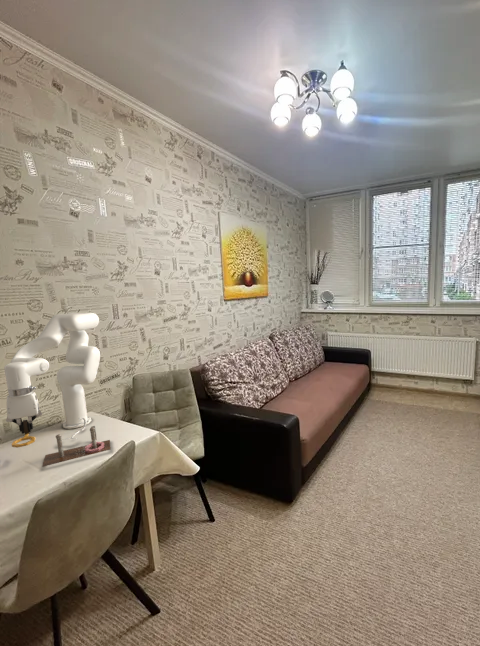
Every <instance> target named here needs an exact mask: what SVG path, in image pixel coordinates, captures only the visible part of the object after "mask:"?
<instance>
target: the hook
mask: <svg viewBox="0 0 480 646" xmlns="http://www.w3.org/2000/svg"><path fill="white" fill-rule="evenodd" d="M80 419H83V420H84V426H82V429H81V431H85V429H86V426H87V425H86V419H85V418H84V417H81V418H80ZM80 419H79V420H80ZM79 432H80V430H78V431H76V432H74V433H73V435H71V436H70V437H67V438H66V440H70V439H72V440H74V439H75V440H78V439H79V438H77V437H75V436H76V435H78V433H79ZM64 440H65V438H63V439H62V441H64Z"/></svg>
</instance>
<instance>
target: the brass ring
mask: <svg viewBox="0 0 480 646" xmlns="http://www.w3.org/2000/svg"><path fill="white" fill-rule="evenodd" d="M22 422H23V427H24V436H23V437H20V438H17V439H15V440H13V441H12V442H11V447H12V448H23V447H26V446H29V445H31V444H33V443H35V442H36V439H37V438H36V436H31V435H30V433H31V432H28V427H27V424H28V418H27V419H22ZM23 441H26V442H23ZM21 442H22V443H21Z"/></svg>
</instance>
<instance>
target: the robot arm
mask: <svg viewBox="0 0 480 646" xmlns="http://www.w3.org/2000/svg"><path fill="white" fill-rule="evenodd" d="M99 324H100V317H99V316H98V315H97V313H95V312H90V311H89V312H80V311H79V312H76V311H75V312H68V313H56V314H54V315H52V317H51V318H50V319H49V321H48V322H47V324H46V325H45V326H44V328H43V330H42V331H41V332H40V334H39V335H38V336H37V337H35V338H34V339H32V340H30V341H28V342H27V343H26V344H24V345H22V346H21V347H20V348H19V349H18V350H17V351H16V353H15V354H14V355H13V357H12V358H11V360H10V362H9V363H7V364H5V365H4V375H5V381H6V386H7V393H8V395H7V396H6V415H7V417H6V419H5V422H7V423H13V424H16V425H17V426H18V430H19V432H21V434H22V435H23V434H24V435H25V433H24V427H23V418H27V419H28V424H27V427H28V432H30V433H31V432H32V430H33V429H34V424H33V422H34V421H35V420H36V419H37V418H39V417H41V416H42V415H43V413H42V411H41V410H40V404H39V400H38V396H37V394H36V392H35V391H36V390H37V386H33V384H32V382H31V377H35V376H40V375H43V374H45V373H46V372H48V371H49V369H50V363H49V361H48V360H47V359H45V358H43V357H35V356H36V355H39V354H41V353H43V352H45V351H49V350H52V349H54V348H56V347H58V346H59V345H60V344H61V342H62V341H63V339H64V337H65V336H66V334H67V333H69V341H68V345H67V349H66V352H65V360H66V362H67V363H68V364H73V365H66V366H65V365H64V366H62V367H60V368H59V369H58V371H57V373H56V380H57V382H58V385H59V388H60V392H61V397H62V403H63V410H64V417H65V421H64V422H63V423H62V428H63V429H67V430H68V429H69V430H72V429H78V428H83V427H84V420H83V419H80V418H81V417H84V418H85V419H86V426H87V425H88V424H90V423H91V422H92V417H90V416H88V411H87V402H86V395H85V389H84V387H83V385H91V384H93V383H94V382H95V380H96V378H97V375H98V371H99V367H100V361H101V352H100V349H99V347H96V346H94V345H89V341H90V336H89V334H88V332H87V330H92V329H95V328H97V327H98V325H99ZM79 419H80V420H79Z"/></svg>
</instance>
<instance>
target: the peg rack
mask: <svg viewBox="0 0 480 646" xmlns="http://www.w3.org/2000/svg"><path fill="white" fill-rule="evenodd" d="M95 431H96V427H95V428H94V427H92V426H91V427H90V428H89V432H90V438H91V443H92V446H91V447H90V448H88V449H91V450H92V449H96V448H98V447H100V446H101V445H96V442H97V440H96V439H97V436H96V437H95ZM55 439H56V444H57V451H56V452H52V453H48V454H45V456H44V459H43V463H42V465H41V467H42V468H44V467H48V466H52V465H54V464H55V465H56V464H59V463H63V462H67V461H71V460H76V459H79V458H82V457H86V456H90V455H95V454H99V453H102V452H106V451H110V450H111V440H110V439H106V440H103V441H101V442H103V443H104V448H102V449H101V450H99V451H96V452H92V453H88V452H85V447H86V446H87V445H88V444H86V445H81V446H78V447H73V448H70V449H69V448H68V449H65V450H64V448H63V447H64V446H63V439H62V434H60V433H58V434H56V435H55Z"/></svg>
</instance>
